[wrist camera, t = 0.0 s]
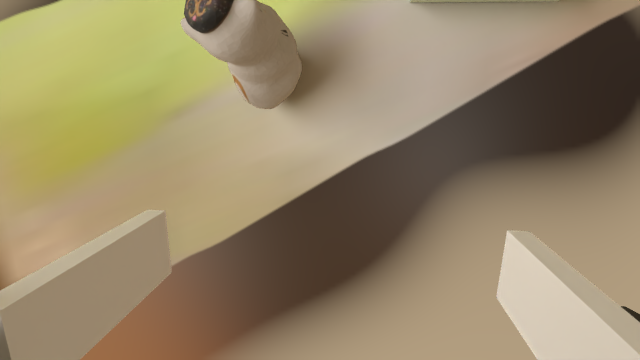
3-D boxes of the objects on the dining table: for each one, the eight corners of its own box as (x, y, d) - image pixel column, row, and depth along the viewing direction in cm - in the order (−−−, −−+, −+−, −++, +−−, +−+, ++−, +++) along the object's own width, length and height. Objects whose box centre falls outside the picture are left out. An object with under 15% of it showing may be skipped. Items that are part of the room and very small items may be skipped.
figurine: (312, 16, 37) (281, -31, 23) (304, 110, 40) (271, 121, 25) (234, 10, 38) (156, -40, 24) (231, 103, 41) (160, 109, 26)
